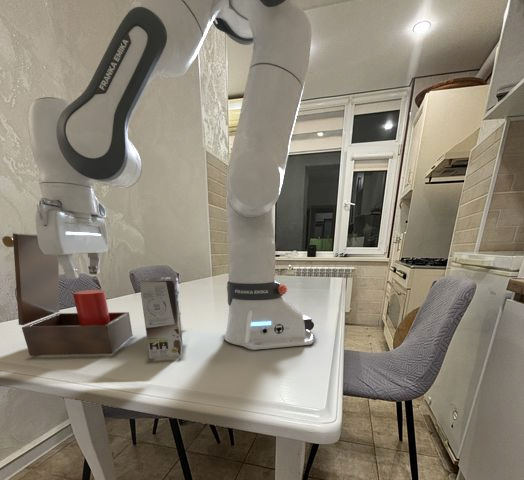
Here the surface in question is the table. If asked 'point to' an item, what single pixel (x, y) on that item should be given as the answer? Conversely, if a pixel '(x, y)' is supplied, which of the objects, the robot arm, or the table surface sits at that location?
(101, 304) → the can
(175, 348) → the coffee box
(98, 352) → the chest
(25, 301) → the chest lid
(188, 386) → the table surface
